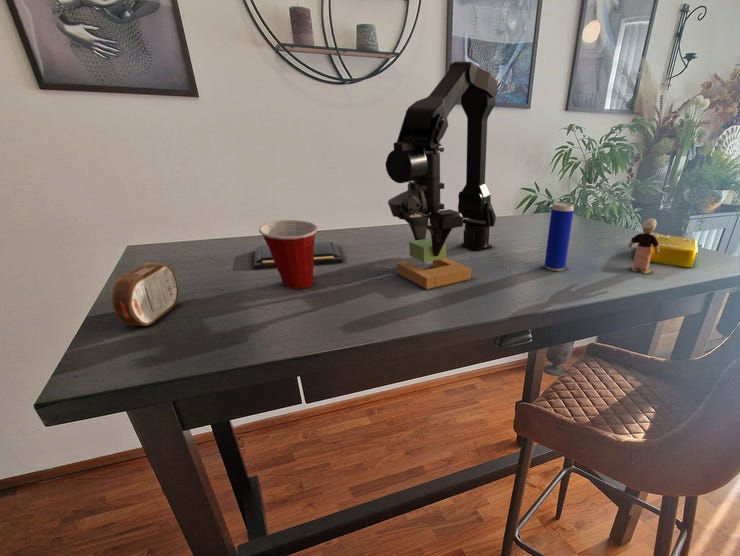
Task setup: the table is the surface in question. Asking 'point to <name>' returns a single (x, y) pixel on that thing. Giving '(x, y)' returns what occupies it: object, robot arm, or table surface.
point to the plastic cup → (292, 250)
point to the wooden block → (435, 273)
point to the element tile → (674, 250)
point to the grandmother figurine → (644, 246)
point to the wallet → (322, 255)
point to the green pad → (425, 250)
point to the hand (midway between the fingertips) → (428, 252)
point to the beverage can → (559, 236)
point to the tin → (145, 294)
